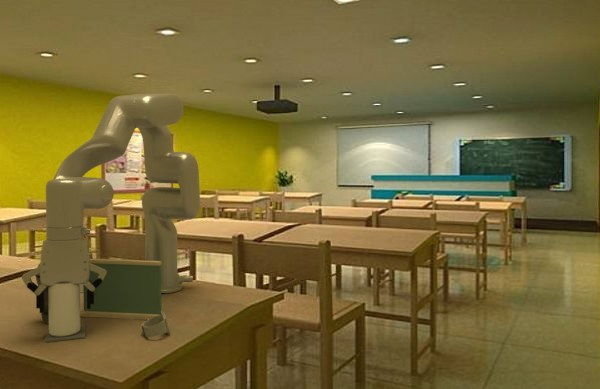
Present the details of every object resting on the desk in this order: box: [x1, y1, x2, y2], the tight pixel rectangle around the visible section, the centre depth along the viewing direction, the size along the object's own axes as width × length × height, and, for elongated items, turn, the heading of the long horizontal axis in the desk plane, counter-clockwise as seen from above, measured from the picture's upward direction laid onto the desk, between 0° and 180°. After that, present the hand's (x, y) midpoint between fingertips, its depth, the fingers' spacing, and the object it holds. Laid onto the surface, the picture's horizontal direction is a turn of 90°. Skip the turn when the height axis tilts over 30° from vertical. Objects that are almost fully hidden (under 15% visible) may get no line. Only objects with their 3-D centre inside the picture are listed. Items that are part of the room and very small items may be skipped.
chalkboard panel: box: [80, 258, 164, 320], centre depth 128 cm, size 20×4×14 cm, turn 85°
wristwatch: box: [140, 311, 171, 338], centre depth 115 cm, size 9×6×5 cm
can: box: [48, 282, 81, 337], centre depth 113 cm, size 6×6×12 cm
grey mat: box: [44, 325, 87, 343], centre depth 114 cm, size 8×8×1 cm
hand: (65, 309), depth 113 cm, fingers open, 9 cm apart
